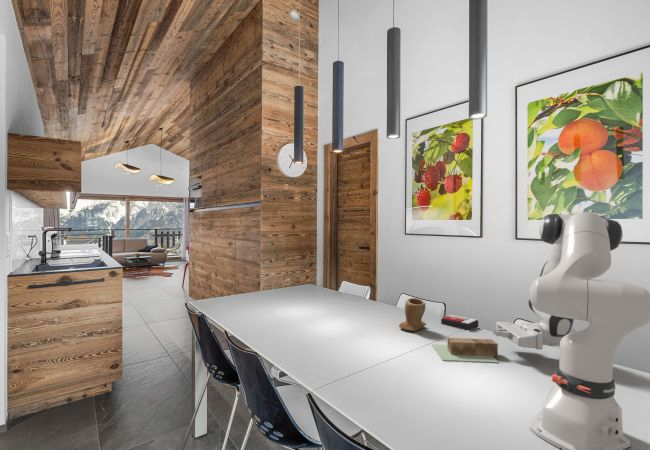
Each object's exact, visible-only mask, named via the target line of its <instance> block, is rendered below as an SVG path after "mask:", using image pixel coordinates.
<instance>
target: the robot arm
mask: <svg viewBox="0 0 650 450" xmlns="http://www.w3.org/2000/svg"><path fill="white" fill-rule="evenodd" d="M538 233H539V236H540V239H541V241H542V242H543V243H546V244H549V245H552V247H551V250H550V255H549V259H548V260H547V261H546V262H545V263H544V264H543V266H542V269H541V272H540V274H539V276H538V277H537V278H535V279H534V280H533V282H532V283H531V284H530V285H529V289H528V297H529V299H528V307H529V309H530V310H531V311H532V312H533V313H535V315H537V316H538V318H539V319H540V322H524V321H523V322H522V323H521V324H520V325H518V324H516V323H513V322H508V321H507V322H506V321H496V322H495V329H492V334H493V335H495V336H496V337H501V338H506V339H508V340H510V341H511V342H513V343H514V344H515V345H517V346H519V347H521V348H528V349H529V348H530V349H536V350H541V351H542V350H543V346H548V347H559V355H558V356H559V357H558V359H559V360H558V361H559V362H558V365H557V369H556V371H555V373H554V374H552V376H551V381H552V383H553V385H552V387H551V388H550V391H549V392H548V394H547V396H546V398H545V400H544V403H543V404H542V407H541V410H540V411H539V412H538V414H537V415H536V416H535V417H534V419H533V420H532V422H531V423H530V424H529V429H530V430H531V431H532V432H533V433H534V434H535V435H536V436H538V437H540V438H541V439H542V440H544V441H545V442H547V443H549V444H551V445H553V446H555V447H557V448H558V449H560V448H561V450H621V449H624V450H626V449H625V448H627V449H629V448H628V447H630V446H631V447H632V443H631V441H630V440H629V439H628V437H626V436H625V435H624V427H623V410H622V409H623V408H622V407H621V406H620V405H619V403H618V402H617V399H615V392H616V383H615V378H614V377H613V376H614V375H613V373H614V364H615V363H614V361H615V356H616V355H615V354H616V351H617V348H618V346H619V344H620V343H621V342H622V341H623V339H624V338H625V337H627V336H628V335H629V334H630V333H632V332H634V331H636V330H637V329H640V328H642V327H645V326H647V325H649V323H650V292H649V291H648V290H647V289H646V288H644V287H642V286H639V285H633V284H631V283H626V282H621V281H612V280H605V279H603V280H601V279H595V278H597V277H600V276H602V275H604V274H606V272H607V271H608V270H610V267H611V265H612V254H611V251H614V250H616V249H617V248H619V245H620V244H621V242H622V240H623V235H624V234H623V228H622V225H621V224H620V222H619V221H617V220H613V219H610V218H604V219H603V217H601V216H600V215H599V214H597V213H595V212H591V211H581V212H577V213H574V214H558V213H550V214H549V213H548V214H546V215H545V216H544V217H543V218H542V220H541V221H540V222H539V226H538ZM575 320H577V321H582V322H583V321H584V322H589V324H588V326H587V327H586V328H585V329H582V330H579V331H576V330H575V328H574V326H573V324H574V321H575ZM631 447H630V448H631Z"/></svg>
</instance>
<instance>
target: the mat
mask: <svg viewBox="0 0 650 450" xmlns="http://www.w3.org/2000/svg"><path fill="white" fill-rule="evenodd" d="M431 346H432V347H433V349H434V351H436V353H437V355H438V356H439V358H440V359H441V360H442V362H460V361H461V362H465V363H469V362H470V363H485V364H486V363H490V364H499V363H500V362H499V361H498V360H497V359H496V358H495V356H476V355H451V353H450V352H449V351H448V350H447V348H448V344H437V343H434V344H433V343H432V344H431Z"/></svg>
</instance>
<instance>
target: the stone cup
mask: <svg viewBox="0 0 650 450" xmlns="http://www.w3.org/2000/svg"><path fill="white" fill-rule="evenodd" d="M425 311H426V303H425V301H424V300H422V299H420V298H415V297H412V298H411V297H410V298H407V300H406V302H405V305H404V315H405V320H404V321H402V322H401V323H399V324H398V326H399V328H400V329H402V330H404V331H411V332H416V331H419V330H420V329H422V328H424V327H425V326H427V323H426V322H425V321H423V315H424V314H425Z"/></svg>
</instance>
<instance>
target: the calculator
mask: <svg viewBox="0 0 650 450" xmlns="http://www.w3.org/2000/svg"><path fill="white" fill-rule="evenodd" d="M440 321H441V322H440V324H441V325H444V326H448V327H452V328H457V329H460V330H463V329H464V330H465V331H467V330H469V331H468V332H471V331H472V330H471V329H473V328H475V329H477V328H479V320H478V319H476V318H471V317H467V316H462V315H461V316H460V315H455V314H449V315H447V316H444V317H442V318H441V319H440ZM464 330H463V331H464ZM470 330H471V331H470ZM473 330H474V329H473Z"/></svg>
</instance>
